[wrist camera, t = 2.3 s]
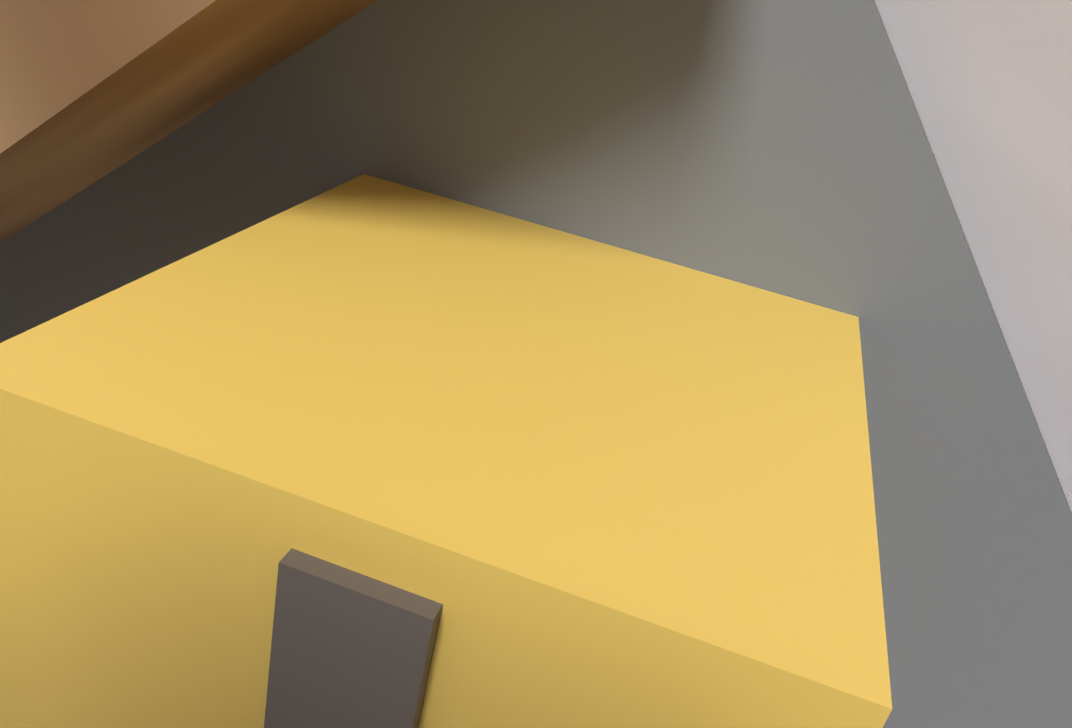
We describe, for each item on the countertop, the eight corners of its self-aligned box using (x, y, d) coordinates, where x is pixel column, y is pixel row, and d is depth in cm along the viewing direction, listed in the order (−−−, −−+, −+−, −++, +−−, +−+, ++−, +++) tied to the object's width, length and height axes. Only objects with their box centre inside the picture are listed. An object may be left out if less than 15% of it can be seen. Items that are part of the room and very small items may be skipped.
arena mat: (143, 1057, 23) (126, 1082, 22) (-379, 418, 19) (-414, 432, 18) (1268, 1029, 13) (1287, 1074, 12) (728, -375, 9) (721, -397, 8)
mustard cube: (706, 701, 13) (617, 1245, 7) (319, 558, 14) (-8, 945, 8) (858, 317, 10) (893, 731, 5) (364, 174, 11) (-75, 378, 6)
